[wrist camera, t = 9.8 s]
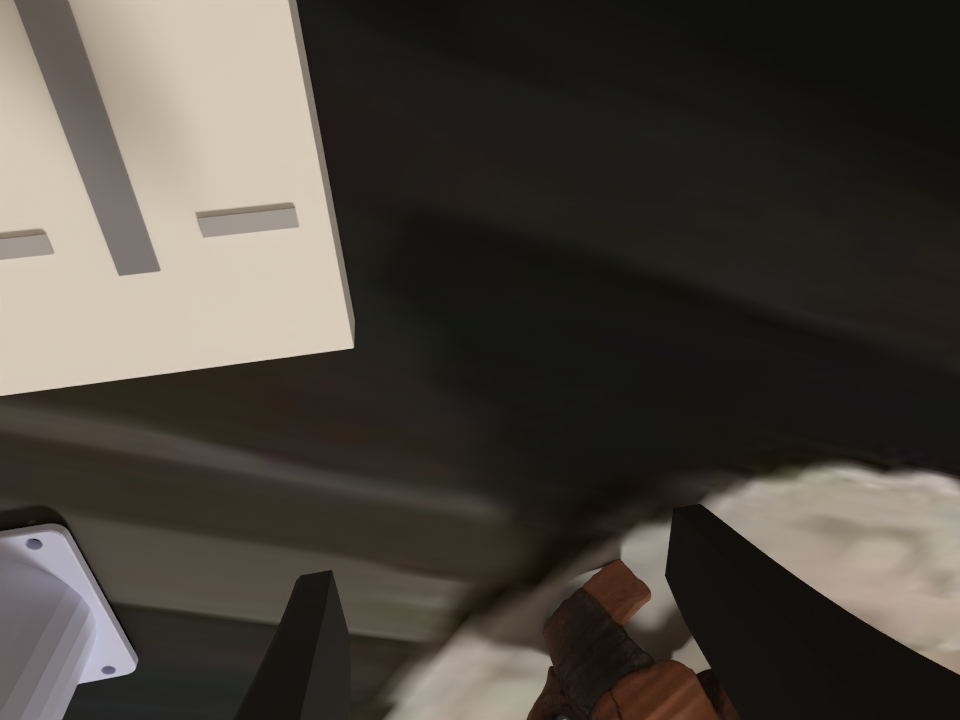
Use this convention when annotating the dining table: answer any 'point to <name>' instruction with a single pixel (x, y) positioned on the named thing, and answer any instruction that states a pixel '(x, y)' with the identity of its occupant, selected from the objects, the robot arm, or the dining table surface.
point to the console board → (161, 192)
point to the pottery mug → (618, 662)
